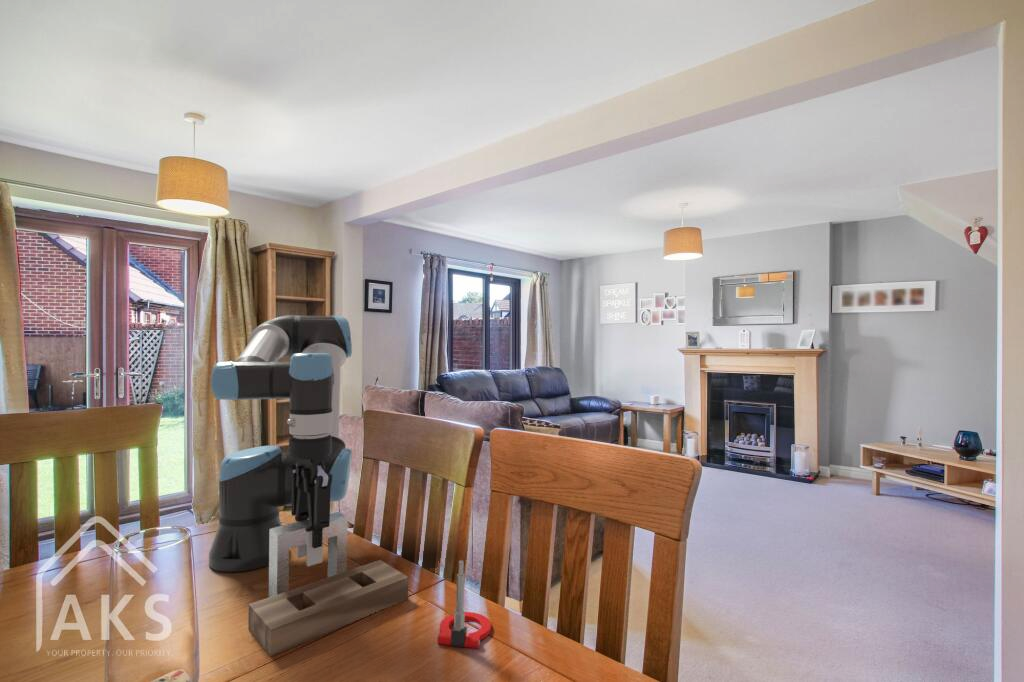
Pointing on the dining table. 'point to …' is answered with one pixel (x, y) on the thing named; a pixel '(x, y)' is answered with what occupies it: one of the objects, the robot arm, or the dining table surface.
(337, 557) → the clip
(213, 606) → the dining table surface
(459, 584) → the tow hook
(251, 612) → the slotted wooden block
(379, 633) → the dining table surface
